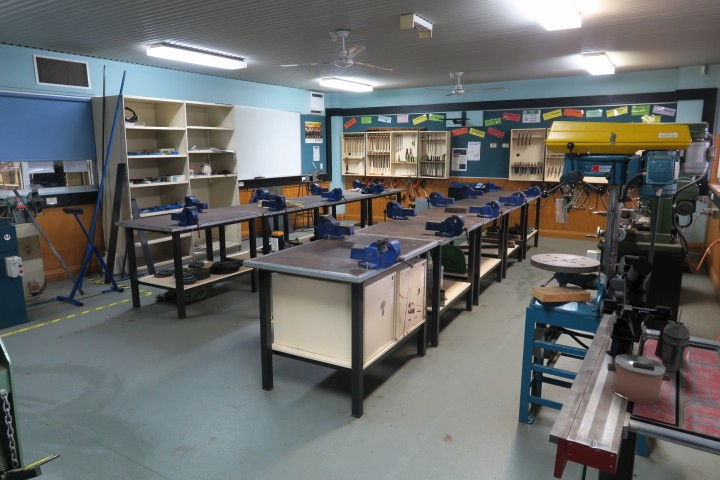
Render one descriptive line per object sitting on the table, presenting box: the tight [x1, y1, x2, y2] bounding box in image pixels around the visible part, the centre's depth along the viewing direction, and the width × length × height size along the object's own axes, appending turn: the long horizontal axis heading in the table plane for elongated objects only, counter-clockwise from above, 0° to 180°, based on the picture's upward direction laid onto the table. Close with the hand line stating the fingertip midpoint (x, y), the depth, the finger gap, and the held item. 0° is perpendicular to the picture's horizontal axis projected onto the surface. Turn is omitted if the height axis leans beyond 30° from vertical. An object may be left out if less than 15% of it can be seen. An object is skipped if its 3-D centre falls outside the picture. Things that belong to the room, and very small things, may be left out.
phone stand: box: [654, 319, 685, 358], centre depth 163 cm, size 9×6×12 cm, turn 138°
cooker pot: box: [606, 361, 672, 405], centre depth 137 cm, size 13×16×8 cm
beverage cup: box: [661, 308, 691, 373], centre depth 151 cm, size 7×7×20 cm
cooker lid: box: [614, 354, 667, 376], centre depth 135 cm, size 12×12×2 cm
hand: (635, 335), depth 144 cm, fingers closed
